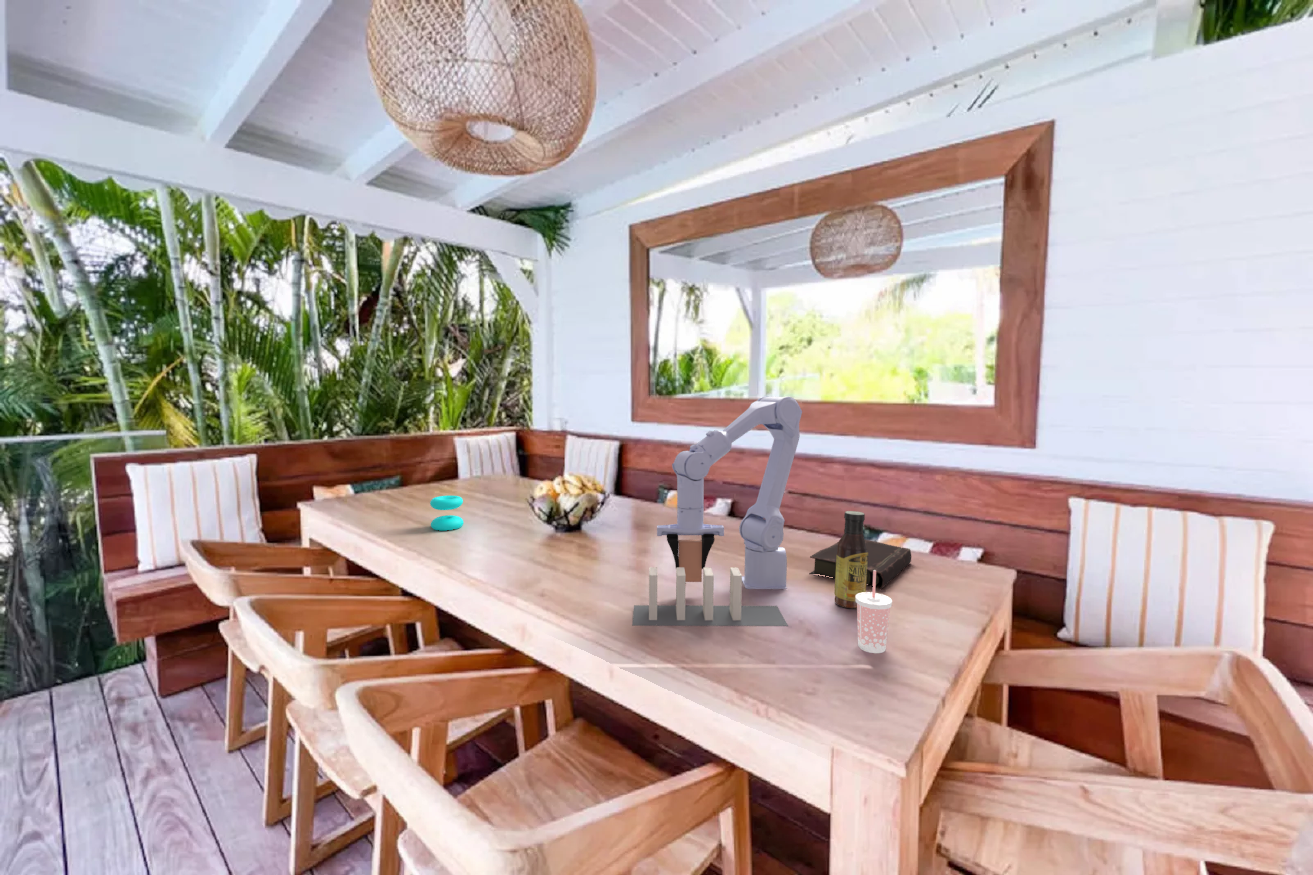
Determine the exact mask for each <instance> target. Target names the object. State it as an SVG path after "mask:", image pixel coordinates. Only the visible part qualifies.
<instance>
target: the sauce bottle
mask: <svg viewBox="0 0 1313 875" xmlns="http://www.w3.org/2000/svg"><path fill="white" fill-rule="evenodd" d="M843 516H844V517H843V518H844V529H843V532H844V533H843V534H842V536H841V537H840V539H839V540H838V541H837V542H838V551H837V559H836V576H835V580H834V592H833V593H834V603H835V604H836V605H838V606H840V607H842V608H847V609H857V603H856V598H855V595H857V594H858V593H862V592H867V590H866V589H867V585H866V577H867V561H868V551H867V548H866V544H865V540H866V539H865V536H864V522H865V518H866V515H865V513H864V512H862V511H855V510H846V511H844V515H843Z"/></svg>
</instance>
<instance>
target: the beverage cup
mask: <svg viewBox="0 0 1313 875" xmlns="http://www.w3.org/2000/svg"><path fill="white" fill-rule="evenodd" d="M872 585H873V587H872V590H871V592H870V591H866V592H862V593H858V594H857V595H855V598H856V603H857V608H856V612H857V613H856V614H857V618H856V620H857V646H858V648H860V650H862V651H864V652H867V653H870V654H871V653H873V654H881V653H885V652H886V647H887V640H888V639H887V637H888V631H889V621H890V620H889V619H890V612H891V608H892V606H893V600H892V598H891V597H890V596H888V595H885V594H883V593H878V592H876V586H877V585H876V570H873V582H872Z"/></svg>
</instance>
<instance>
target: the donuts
mask: <svg viewBox="0 0 1313 875" xmlns="http://www.w3.org/2000/svg"><path fill="white" fill-rule="evenodd" d="M463 503H464V500H463V497H461V496H459V495H440V496H439V495H438V496H436V497H432V499H431V500H430V502H429V504H430V506H431V508H432V509H434V510H438V511H451V510H455V509H458V508H460V507H461V506H463ZM463 526H464V519H463V518H462V517H460V516H459V515H454V514H453V515H451V514H448V515H441V516H438V517H437V516H436V517H435V518H433V519H432V520H431V522H430V527H431V529H432V530H434V531H438V530H439V531H440V532H444V531H445V532H446V531H447V530H449V531H454V530H453V529H455V530H459V529H460V528H462V527H463ZM447 532H448V531H447Z"/></svg>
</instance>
